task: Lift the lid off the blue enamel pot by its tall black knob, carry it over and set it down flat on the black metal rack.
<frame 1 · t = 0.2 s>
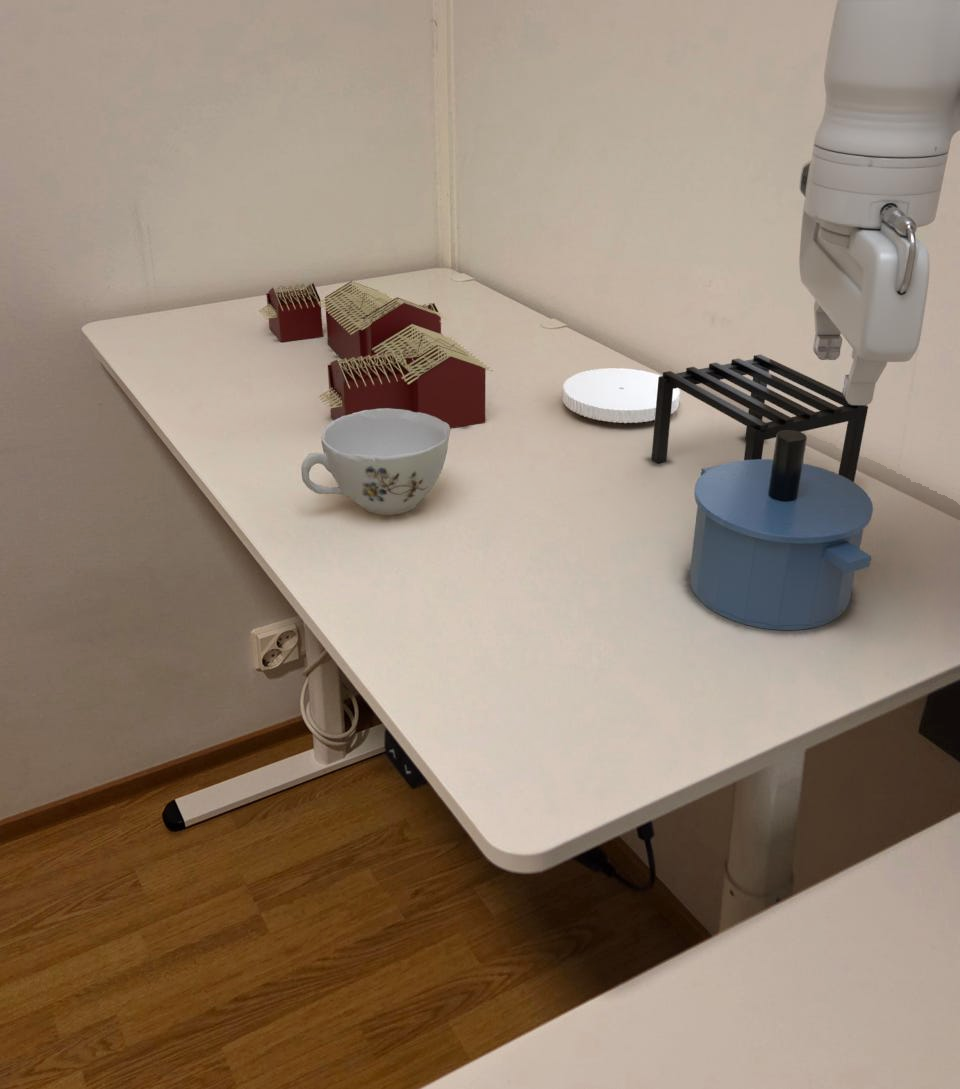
hand: (840, 378, 84), 21 cm above the table, tool pointing down, fingers open, 8 cm apart
teacup: (377, 506, 111), on the table
pot: (768, 587, 97), on the table
plastic lid: (619, 409, 134), on the table
rack: (748, 475, 117), on the table
toy houses: (364, 370, 145), on the table
lid: (781, 501, 93), point 8 cm above the table, touching pot
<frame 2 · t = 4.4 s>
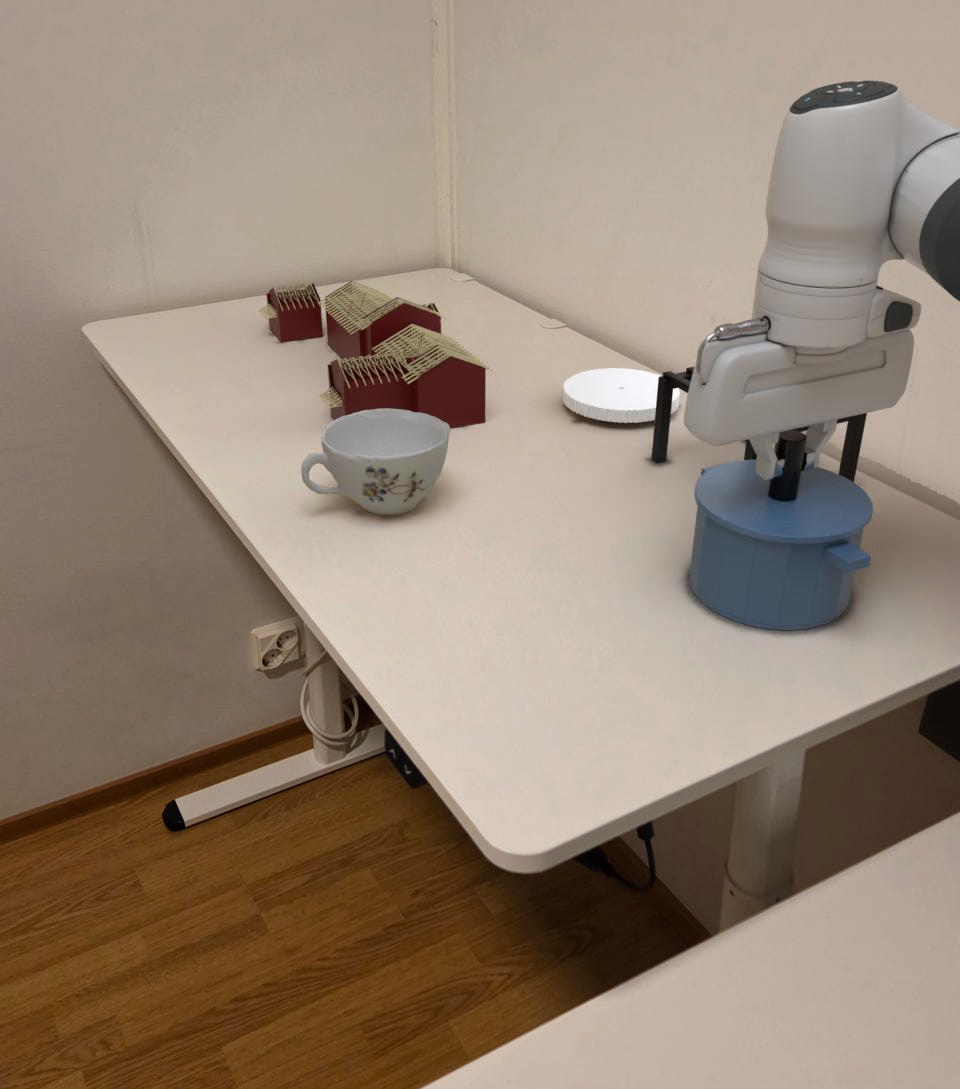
hand: (786, 471, 92), 11 cm above the table, tool pointing down, fingers closed on lid, 2 cm apart
lid: (781, 501, 93), point 9 cm above the table, touching gripper, pot
everything else where it was.
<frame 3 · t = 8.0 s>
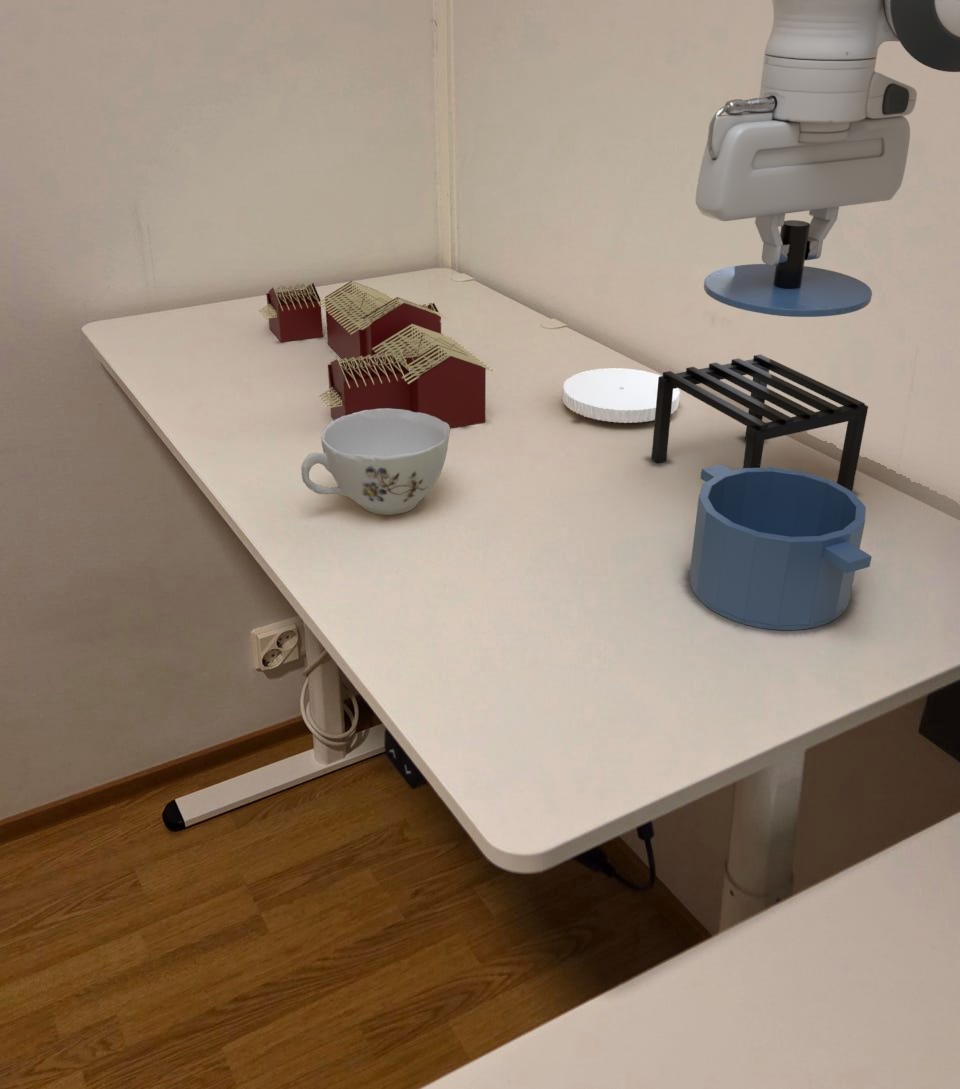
hand: (790, 260, 98), 25 cm above the table, tool pointing down, fingers closed on lid, 2 cm apart
lid: (786, 292, 99), point 22 cm above the table, touching gripper
everything else where it was.
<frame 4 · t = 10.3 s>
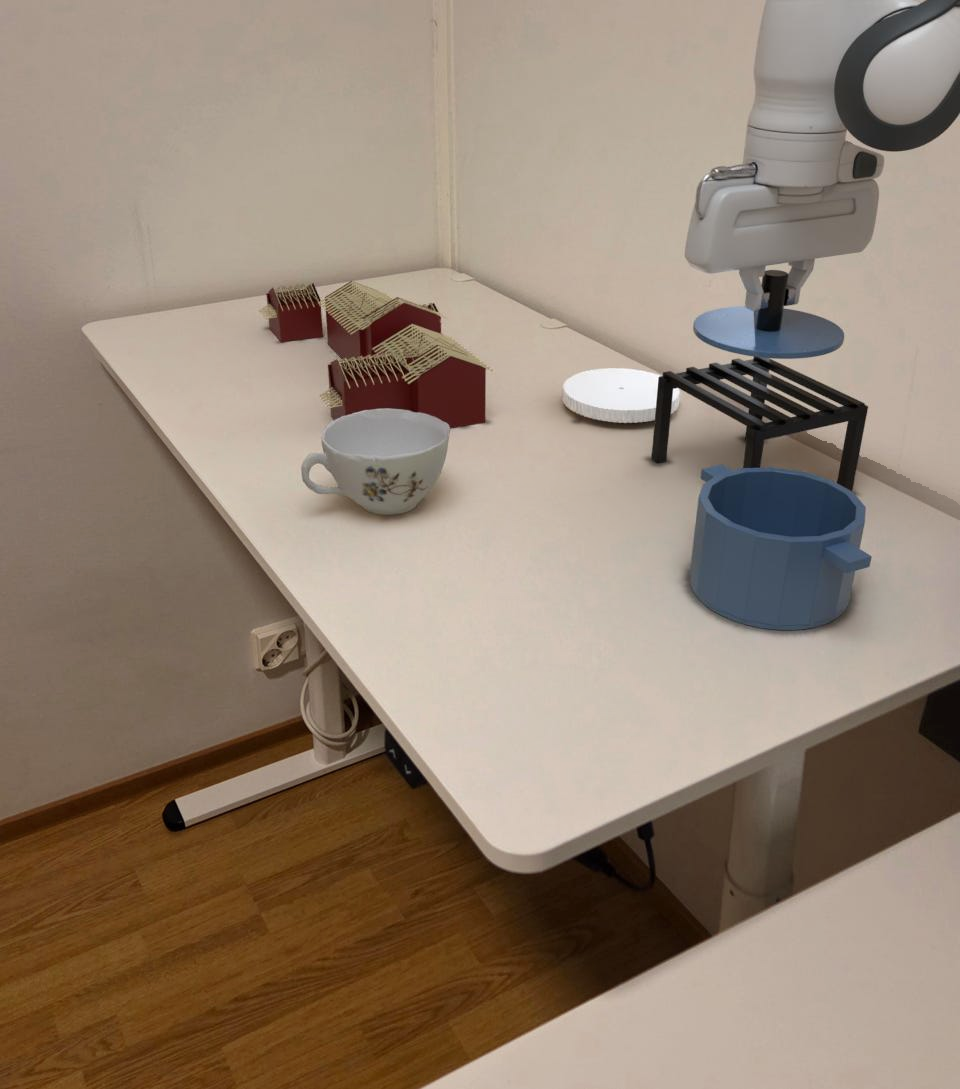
hand: (771, 306, 108), 18 cm above the table, tool pointing down, fingers closed on lid, 2 cm apart
lid: (767, 333, 110), point 16 cm above the table, touching gripper
everything else where it was.
when the fingers open (13 cm above the table, at t = 11.7 s): lid stays where it is, resting on rack.
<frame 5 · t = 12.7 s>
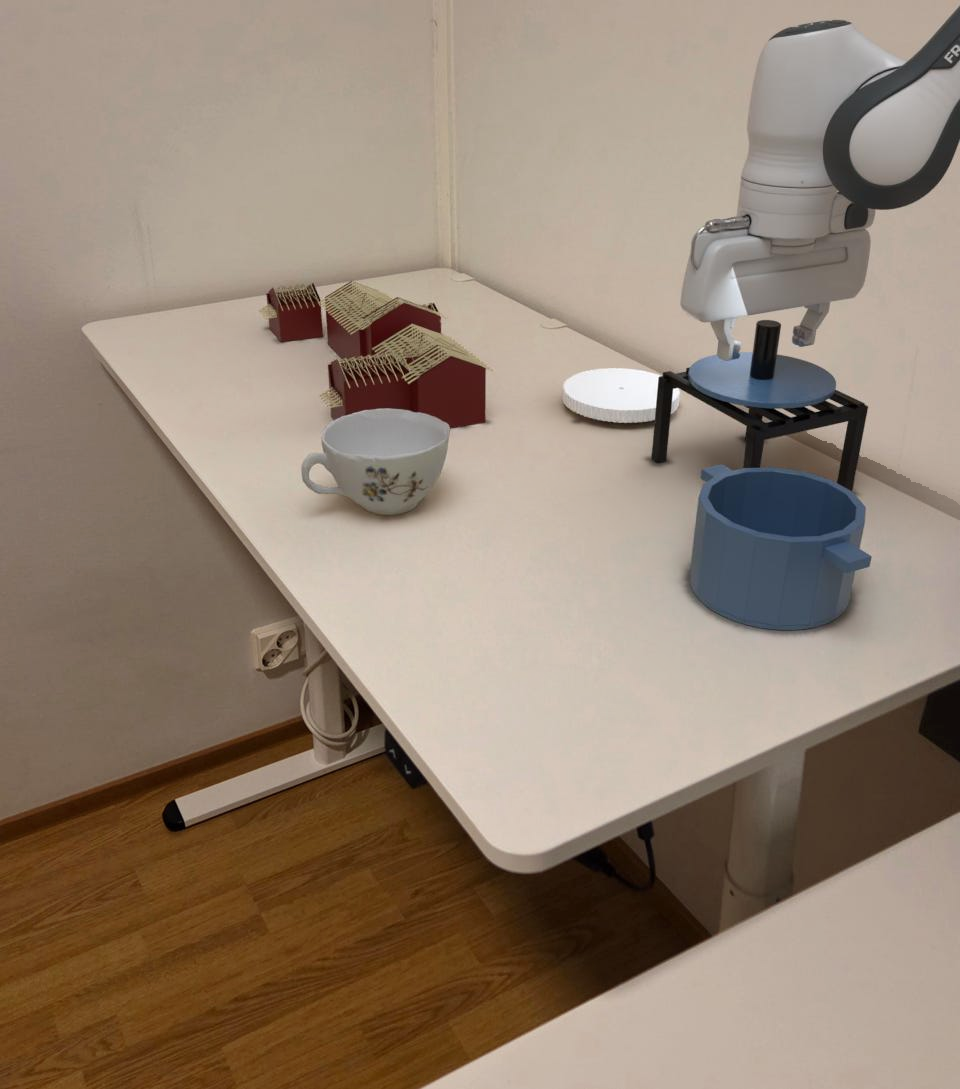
hand: (765, 351, 110), 14 cm above the table, tool pointing down, fingers open, 8 cm apart
lid: (760, 381, 112), point 11 cm above the table, touching rack
everything else where it was.
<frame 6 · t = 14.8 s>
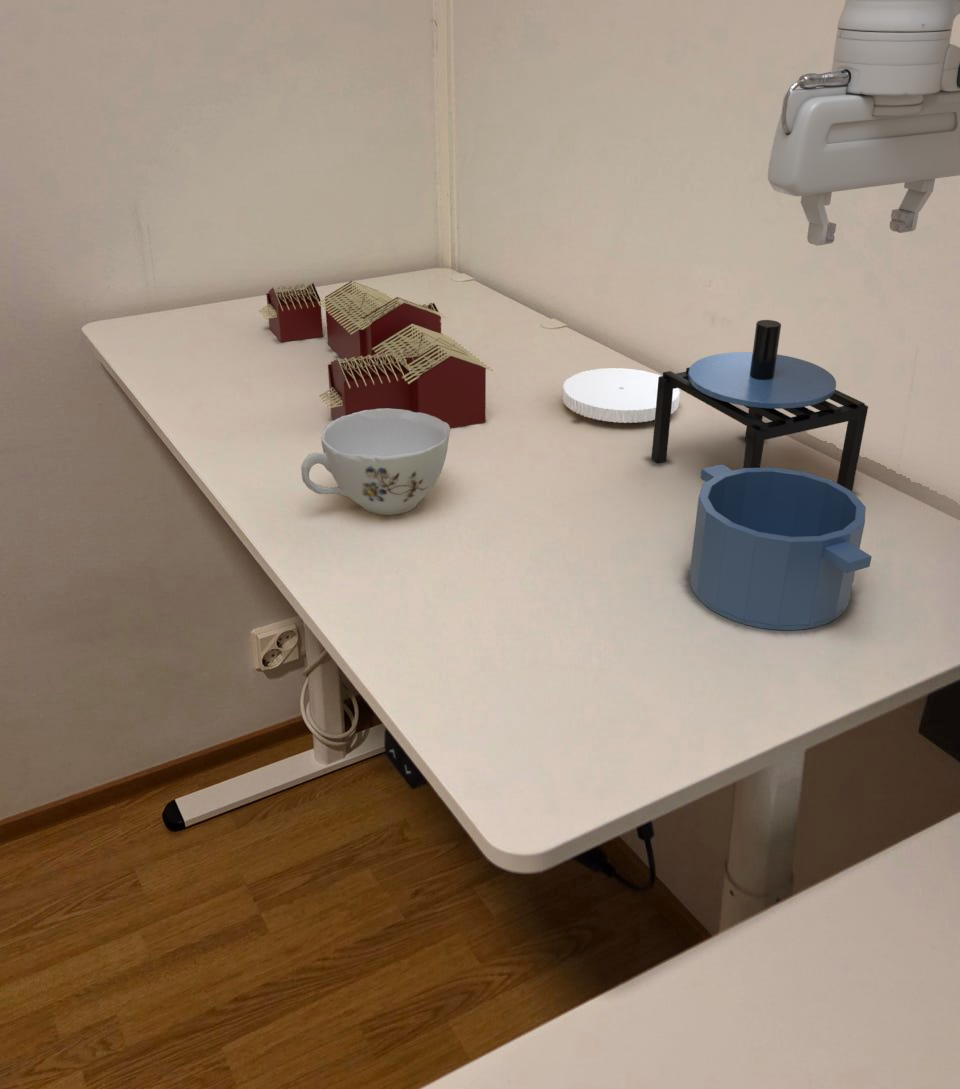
hand: (861, 237, 97), 27 cm above the table, tool pointing down, fingers open, 8 cm apart
nothing on the table moved.
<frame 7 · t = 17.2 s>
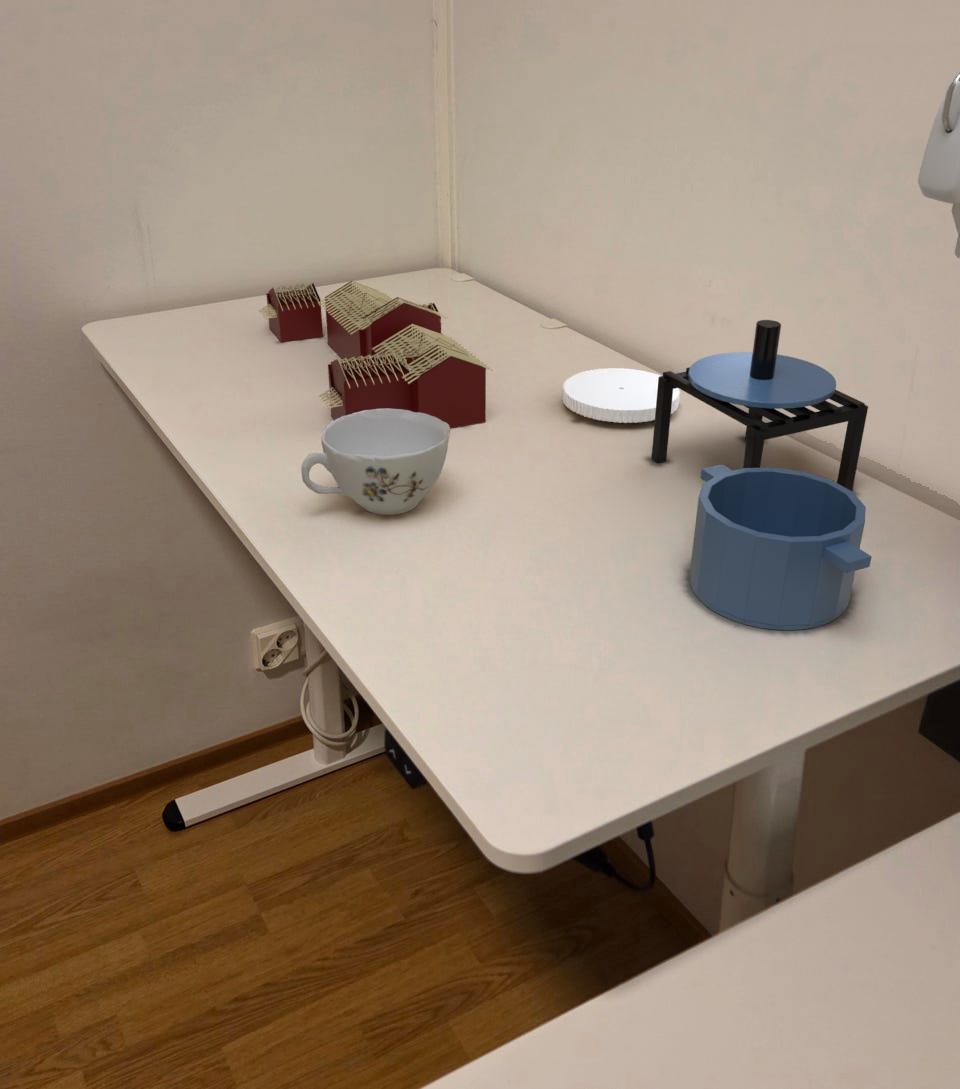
nothing on the table moved.
at the end: lid inside the target area on the rack (0.0 cm from its centre), point 10.6 cm above the rack's base; lid tilted 0°; the gripper is holding nothing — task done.
